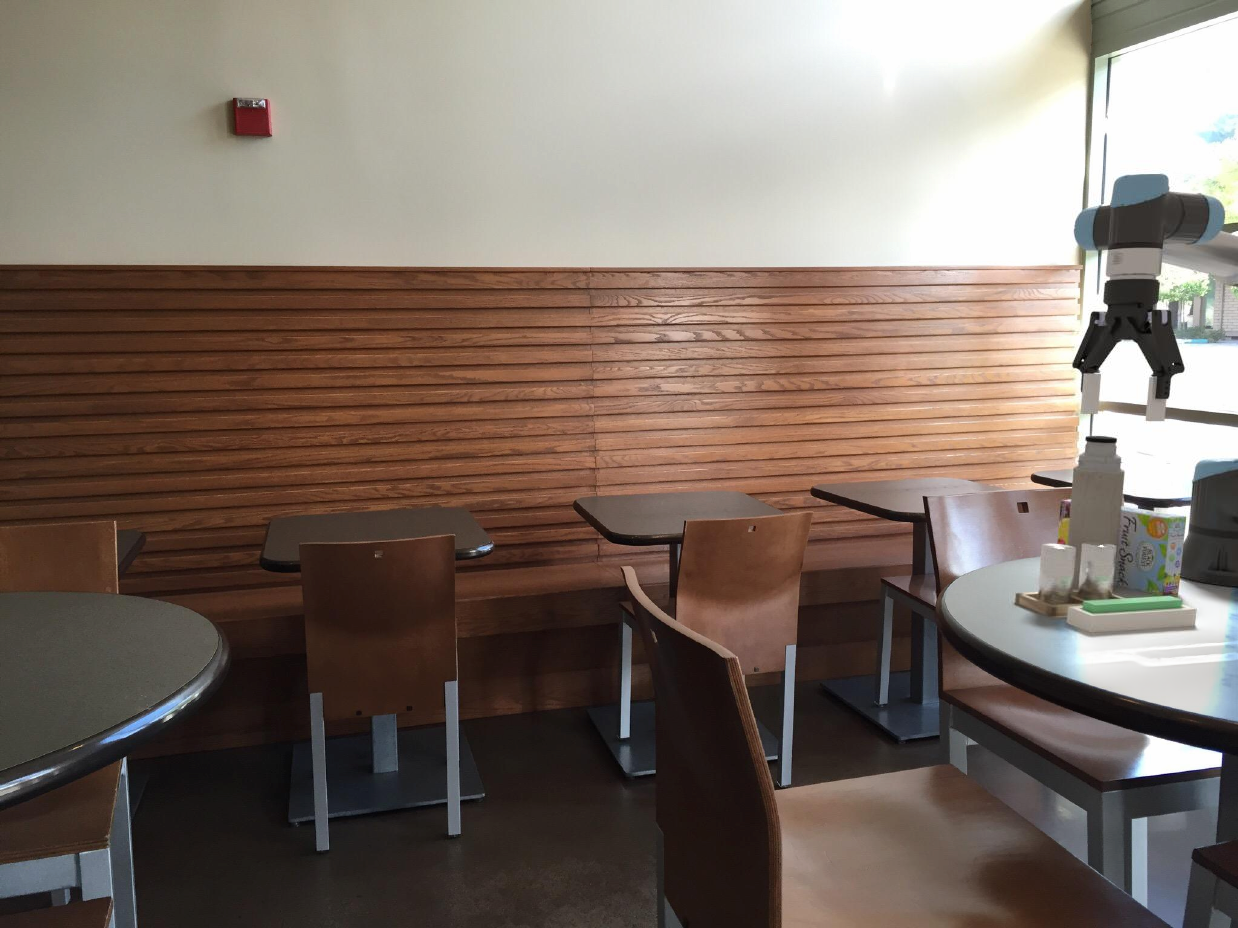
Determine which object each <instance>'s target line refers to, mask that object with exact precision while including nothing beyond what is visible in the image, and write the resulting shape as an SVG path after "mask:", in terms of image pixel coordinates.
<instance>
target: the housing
mask: <svg viewBox="0 0 1238 928" xmlns="http://www.w3.org/2000/svg"><path fill="white" fill-rule="evenodd" d="M1082 609H1083V606H1069V607H1068V613H1067V618H1066V623H1067V624H1069V625H1071V626H1073V627H1076V628H1078V629H1080V630H1083V631H1086V632H1089V633H1101V632H1102V633H1103V632H1105V633H1106V632H1119V631H1130V630H1131V631H1133V630H1146V629H1147V630H1148V629H1149V630H1150V629H1161V628H1174V627H1175V628H1177V627H1191V626H1196V621H1197V620H1196V619H1197V608H1194V607H1192V606H1189V605H1186V604H1183V603H1182V608H1172V609H1156V610H1140V611H1124V612H1108V613H1090V612H1088V611H1085V610H1082Z"/></svg>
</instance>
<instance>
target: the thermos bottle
mask: <svg viewBox="0 0 1238 928" xmlns="http://www.w3.org/2000/svg"><path fill="white" fill-rule="evenodd" d="M1084 441H1086V443H1085V445H1084V448H1085V449H1084V451H1083V452H1081V453H1080V454H1079V455H1078V460H1077V462H1078V463H1077V464H1078V465H1077V466H1073V473H1072V481H1071V483H1072V484H1071V495H1070V499H1071V506H1070V518H1069V530H1068V546H1072V547H1075V548H1076V556H1075V568H1074V580H1073V590H1078V588H1079V576H1080V564H1081V552H1082V543H1084V542H1099V543H1107V544H1111V545H1115V546H1116V547H1117V548H1116V560H1115V571H1114V582H1113V592H1114V591H1115V575H1116V564H1117V553H1118V535H1119V528H1120V519H1121V507H1122V506H1123V505H1122V504H1123V497H1124V496H1123V494H1124V483H1125V473H1126V472H1125V470H1124V469H1122V467H1121V464H1122V463H1123V462H1122V457H1121V456H1120V455H1118V454H1117V442H1118V439H1117V438H1116V437H1114V436H1106V435H1087V436H1085V440H1084Z"/></svg>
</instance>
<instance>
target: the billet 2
mask: <svg viewBox="0 0 1238 928" xmlns="http://www.w3.org/2000/svg"><path fill="white" fill-rule="evenodd" d="M1116 548H1117V547H1116V546H1115V545H1111V544H1107V543H1099V542H1084V543H1082V552H1081V564H1080V576H1079V588H1078V598H1081V599H1084V600H1086V601H1091V600H1108V599H1112V594H1114V593H1113V592H1114V591H1113V582H1114V571H1115V560H1116Z"/></svg>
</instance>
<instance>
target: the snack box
mask: <svg viewBox="0 0 1238 928" xmlns="http://www.w3.org/2000/svg"><path fill="white" fill-rule="evenodd" d="M1070 506H1071V498H1069V499H1062V500H1061V501H1060V506H1059V507H1060V508H1059V521H1058V530H1057V540H1056V541H1057V543H1056V544H1062V545H1068V530H1069V518H1070ZM1186 524H1187V516H1185V515H1180V514H1174V513H1173V514H1172V513H1167V512H1160V511H1155V510H1149V509H1142V508H1137V507H1130V506H1125V505H1124V506H1123V505H1122V507H1121V519H1120V528H1119V535H1118V553H1117V564H1116V575H1115V585H1116V586H1119V587H1124V588H1127V589H1132V590H1135V591H1136V590H1137V591H1138V592H1139V591H1140V592H1145V593H1147V594H1148V593H1149V594H1153V595H1155V596H1156V595H1157V596H1171V595H1174V594H1175V595H1177V596H1178V595H1179V591H1180V589H1179V588H1180V580H1181V576H1180V573H1181V563H1182V553H1183V544H1184V542H1185V533H1186V527H1187V526H1186Z"/></svg>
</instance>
